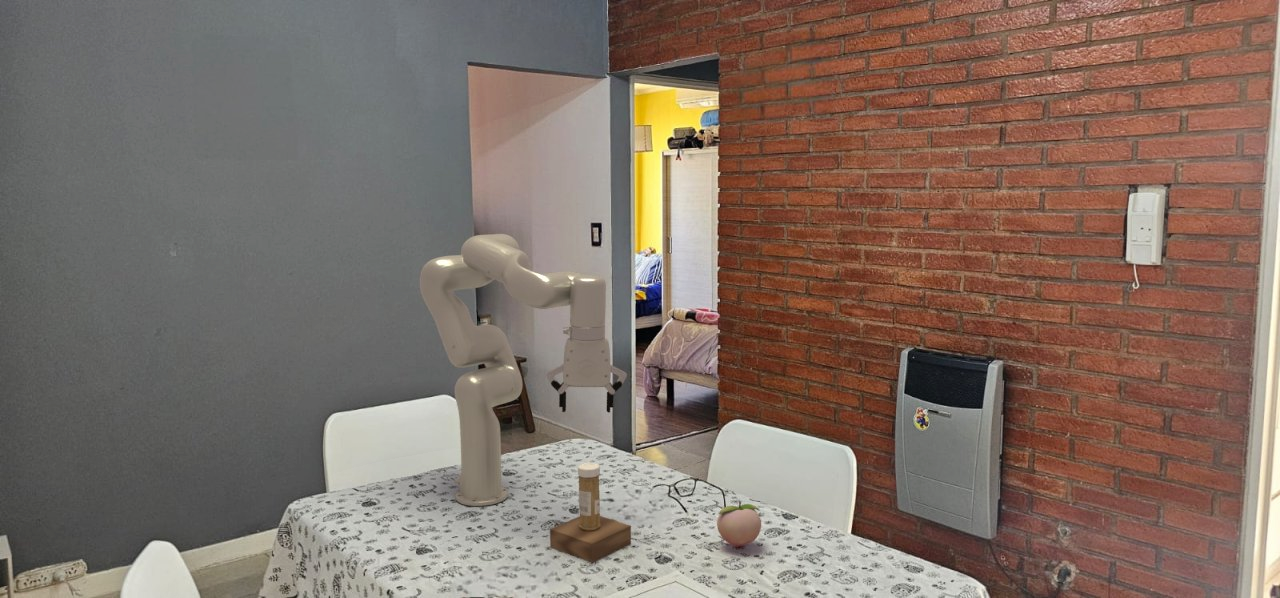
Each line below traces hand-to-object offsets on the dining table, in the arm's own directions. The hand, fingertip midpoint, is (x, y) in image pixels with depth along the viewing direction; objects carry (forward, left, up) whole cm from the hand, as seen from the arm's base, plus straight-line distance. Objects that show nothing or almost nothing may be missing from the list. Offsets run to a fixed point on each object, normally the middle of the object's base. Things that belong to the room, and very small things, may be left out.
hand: (586, 410), depth 184 cm
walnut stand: (+7, -6, -27) cm, 28 cm away
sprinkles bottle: (+7, -6, -23) cm, 25 cm away
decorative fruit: (+32, +13, -27) cm, 44 cm away
